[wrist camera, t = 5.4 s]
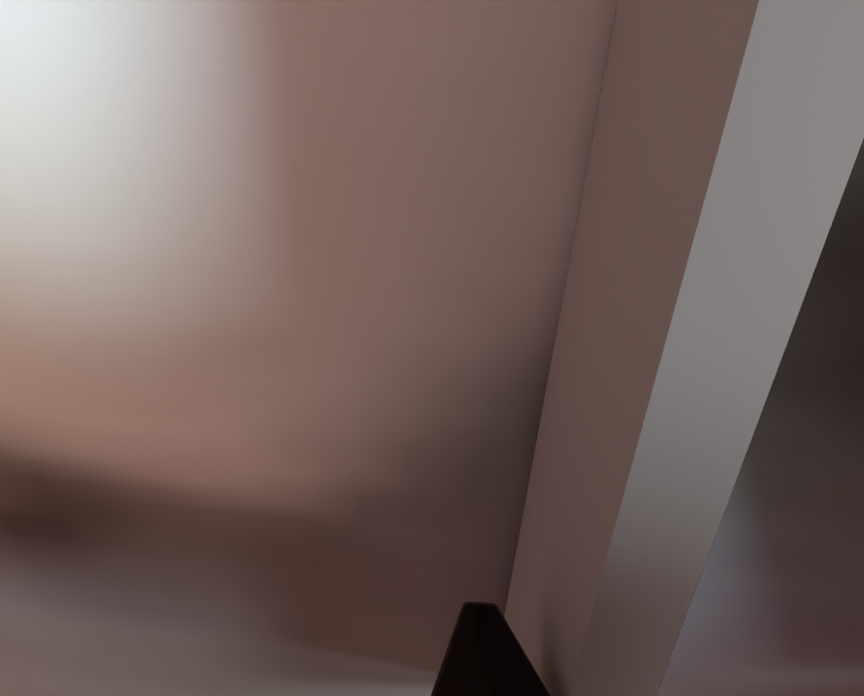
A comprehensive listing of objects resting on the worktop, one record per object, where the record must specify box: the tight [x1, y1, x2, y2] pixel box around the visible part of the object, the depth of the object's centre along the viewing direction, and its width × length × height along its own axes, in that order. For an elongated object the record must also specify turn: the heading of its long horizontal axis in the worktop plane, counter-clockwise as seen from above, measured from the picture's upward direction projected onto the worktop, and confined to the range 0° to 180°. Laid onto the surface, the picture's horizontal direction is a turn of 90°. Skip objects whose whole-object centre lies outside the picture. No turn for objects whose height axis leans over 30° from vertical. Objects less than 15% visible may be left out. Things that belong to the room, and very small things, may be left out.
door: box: [504, 0, 864, 696], centre depth 8 cm, size 20×2×5 cm, turn 176°
